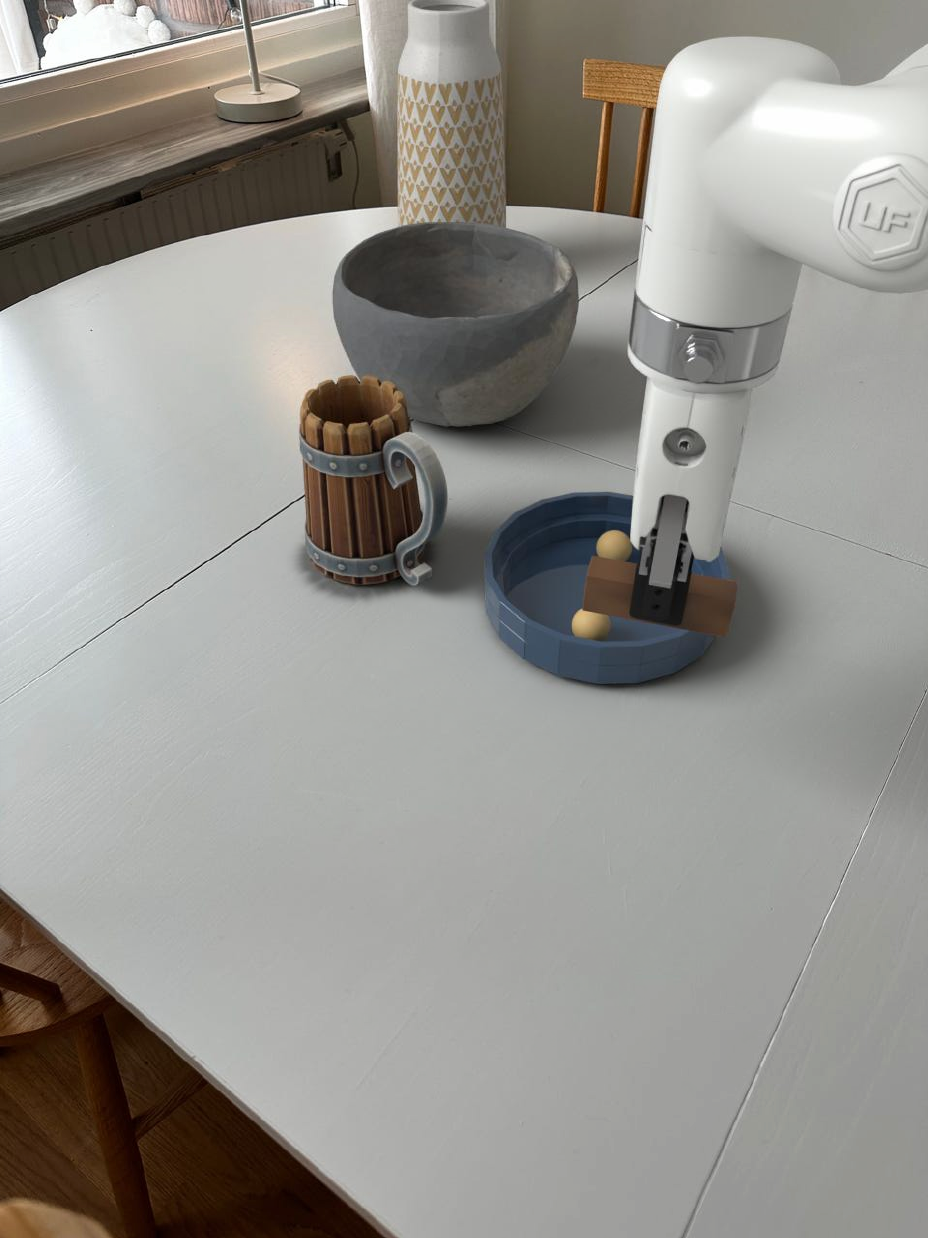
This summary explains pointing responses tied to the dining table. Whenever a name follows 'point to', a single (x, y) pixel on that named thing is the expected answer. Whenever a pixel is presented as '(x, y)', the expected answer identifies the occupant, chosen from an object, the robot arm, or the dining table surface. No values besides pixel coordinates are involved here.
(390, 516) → the mug
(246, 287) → the dining table surface
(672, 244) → the robot arm
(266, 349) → the dining table surface
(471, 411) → the bowl
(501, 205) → the vase
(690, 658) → the round tray
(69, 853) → the dining table surface
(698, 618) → the brown wooden block
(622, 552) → the bead
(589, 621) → the bead
